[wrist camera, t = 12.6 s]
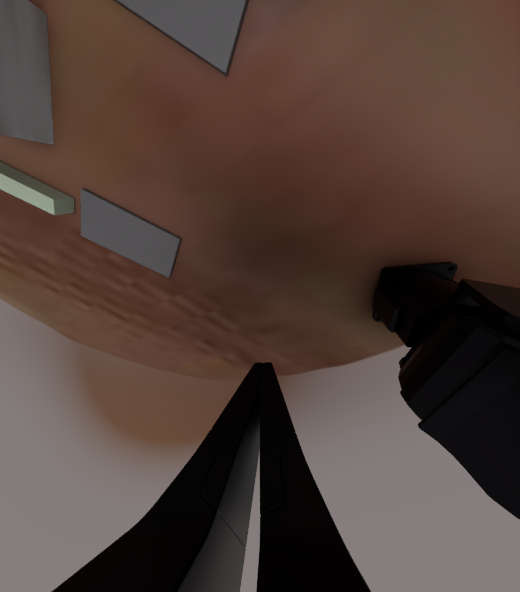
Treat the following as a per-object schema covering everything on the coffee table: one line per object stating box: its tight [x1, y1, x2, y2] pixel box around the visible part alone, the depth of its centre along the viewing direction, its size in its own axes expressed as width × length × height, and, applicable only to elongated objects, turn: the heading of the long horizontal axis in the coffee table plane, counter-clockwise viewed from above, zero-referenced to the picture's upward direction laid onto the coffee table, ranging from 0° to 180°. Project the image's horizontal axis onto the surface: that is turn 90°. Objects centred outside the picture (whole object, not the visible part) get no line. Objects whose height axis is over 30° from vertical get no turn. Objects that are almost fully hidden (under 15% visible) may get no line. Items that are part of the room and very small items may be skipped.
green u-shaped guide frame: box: [0, 0, 248, 278], centre depth 14 cm, size 28×23×2 cm
